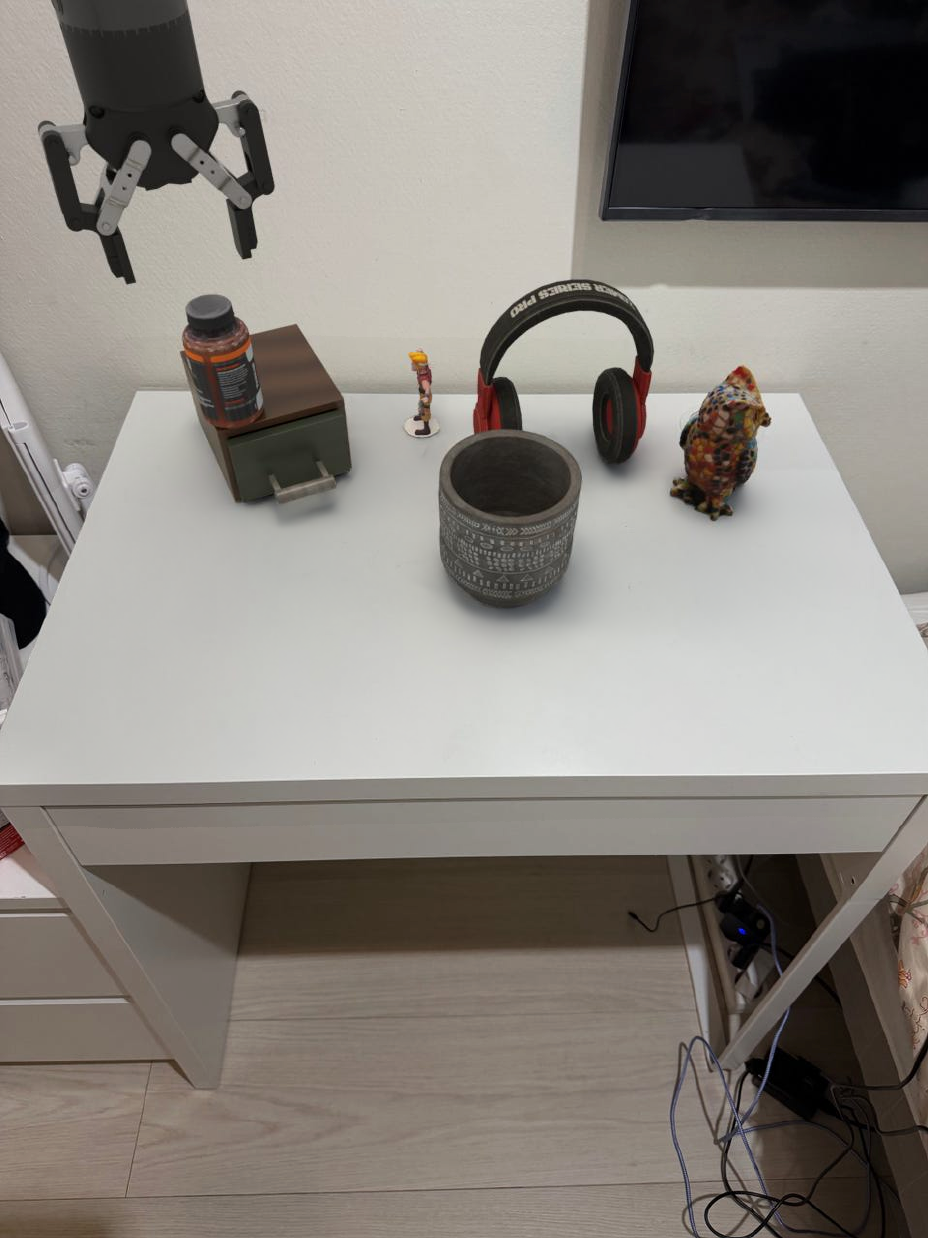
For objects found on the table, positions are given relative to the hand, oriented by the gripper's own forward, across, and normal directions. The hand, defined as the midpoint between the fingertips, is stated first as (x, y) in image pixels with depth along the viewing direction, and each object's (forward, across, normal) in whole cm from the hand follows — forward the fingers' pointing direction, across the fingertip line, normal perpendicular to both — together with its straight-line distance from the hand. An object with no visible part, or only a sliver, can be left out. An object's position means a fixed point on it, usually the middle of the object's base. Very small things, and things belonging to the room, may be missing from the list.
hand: (187, 266), depth 62 cm
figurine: (+28, -45, +14) cm, 55 cm away
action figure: (+28, -22, -8) cm, 37 cm away
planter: (+28, -20, +15) cm, 38 cm away
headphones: (+28, -33, +2) cm, 44 cm away
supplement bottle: (+19, -2, -8) cm, 21 cm away
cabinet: (+28, -6, -13) cm, 32 cm away
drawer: (+27, -6, -9) cm, 29 cm away
